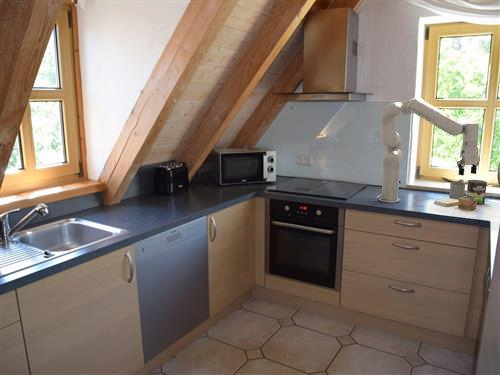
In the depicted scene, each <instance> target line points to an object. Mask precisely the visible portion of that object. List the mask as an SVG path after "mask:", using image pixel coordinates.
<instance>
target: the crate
mask: <svg viewBox="0 0 500 375" xmlns="http://www.w3.org/2000/svg"><path fill="white" fill-rule="evenodd" d="M458 200H459V203H458V205H457V207H458V208H460V209H464V210H468V211H469V212H471V211H470V210H474V211H476V210H475V209H476V208H477V206H478V205H477V199H475V198H471V197H466V196H464V197H460V198H459V199H458Z"/></svg>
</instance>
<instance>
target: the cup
mask: <svg viewBox="0 0 500 375" xmlns="http://www.w3.org/2000/svg"><path fill="white" fill-rule="evenodd" d="M465 191H466V183H464V182H458V181H457V182H453V181H452V182H450V187H449V197H448V198H451V199H455V200H459V198H460V197H465Z"/></svg>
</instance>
